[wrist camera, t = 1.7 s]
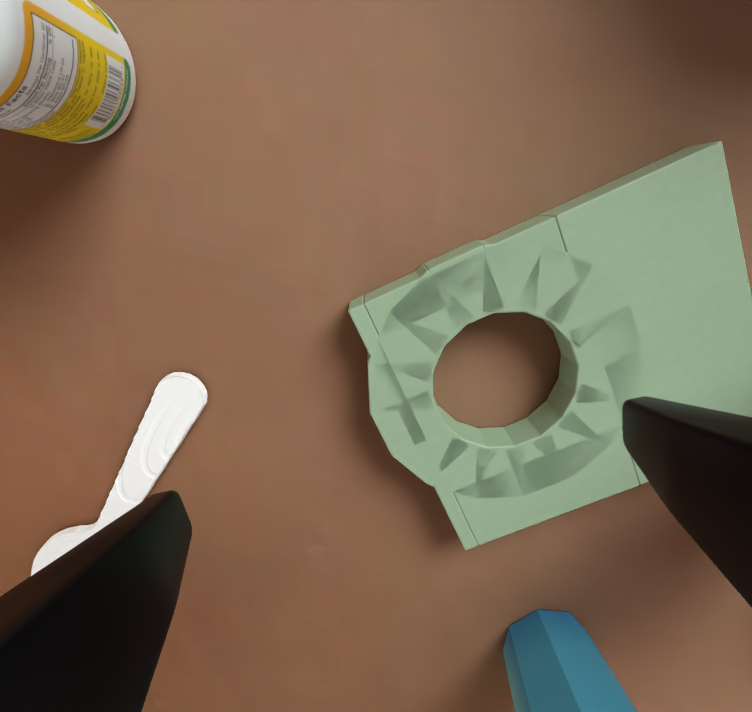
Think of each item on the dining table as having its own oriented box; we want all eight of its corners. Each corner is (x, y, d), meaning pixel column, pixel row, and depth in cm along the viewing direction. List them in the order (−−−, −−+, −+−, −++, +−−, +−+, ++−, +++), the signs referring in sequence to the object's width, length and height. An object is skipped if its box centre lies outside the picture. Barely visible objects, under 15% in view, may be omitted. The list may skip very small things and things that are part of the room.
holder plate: (687, 141, 19) (722, 135, 18) (745, 415, 24) (778, 433, 22) (325, 308, 21) (321, 318, 20) (438, 532, 26) (444, 559, 24)
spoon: (242, 401, 23) (239, 406, 22) (104, 634, 27) (99, 643, 27) (141, 347, 22) (135, 351, 21) (16, 598, 26) (9, 606, 26)
